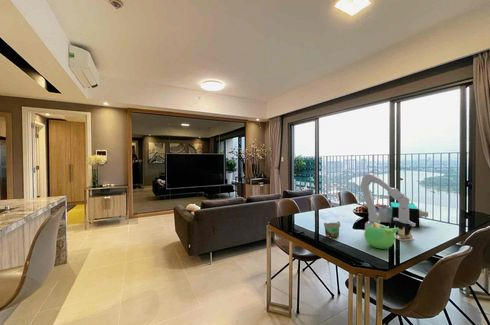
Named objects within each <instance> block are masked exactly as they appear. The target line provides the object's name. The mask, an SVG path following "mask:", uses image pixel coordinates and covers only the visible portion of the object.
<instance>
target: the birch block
mask: <svg viewBox="0 0 490 325" xmlns="http://www.w3.org/2000/svg"><path fill="white" fill-rule="evenodd" d="M397 235H398V236H401V238H411V235H412V229H411V230H410V232H409V235H405V228H404V227H403V229H399V230H398V231H397Z"/></svg>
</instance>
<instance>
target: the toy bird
mask: <svg viewBox="0 0 490 325" xmlns="http://www.w3.org/2000/svg"><path fill="white" fill-rule="evenodd" d="M398 230H399V228H398V227H393V228H390V227H388V226H386V225H384V224H381V223H380V224H378V223H376V222H374V224H373V225H370V226H368V227H367V229H366V230H365V229H364V239H365V241H366V243H367V244H369V245H370V247H371V246H372V247H373V248H376V249H381V250H385V249H389V248H391V247H392V246H393V245H394V243H395V240H396V238H395V236H396V233H398Z"/></svg>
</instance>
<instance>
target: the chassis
mask: <svg viewBox="0 0 490 325" xmlns="http://www.w3.org/2000/svg"><path fill="white" fill-rule="evenodd" d="M395 240H397V241H398V240H399V241H401V242H405V241H406V242H407V241H415V237H413V234H411V238H401V236H398V234H395Z"/></svg>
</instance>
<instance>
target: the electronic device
mask: <svg viewBox="0 0 490 325" xmlns="http://www.w3.org/2000/svg"><path fill="white" fill-rule="evenodd" d="M389 203H390V205H389V206H390V207H389V208H391V222H390V223H391V225H394V226H397V225H396V224H395V222H397V221H394V220H393V218H399V202H398V201H397V202H396V201H390V202H389ZM427 217H429V212H428V211H425V210H422V209H419V207H418V206H416V205H415V203H412V202H411V203H410V202H409V220H410V221H411V222H413V223H415V226H413V227H412V228H416V229H417V228H419V229H420V218H427ZM404 225H405V223H404ZM404 225H403V227H404Z"/></svg>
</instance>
